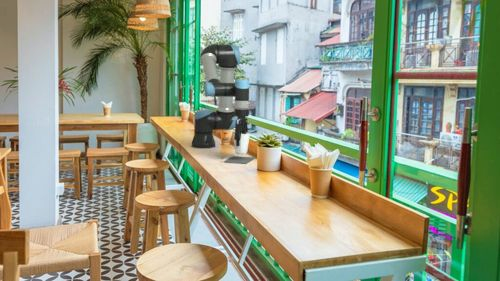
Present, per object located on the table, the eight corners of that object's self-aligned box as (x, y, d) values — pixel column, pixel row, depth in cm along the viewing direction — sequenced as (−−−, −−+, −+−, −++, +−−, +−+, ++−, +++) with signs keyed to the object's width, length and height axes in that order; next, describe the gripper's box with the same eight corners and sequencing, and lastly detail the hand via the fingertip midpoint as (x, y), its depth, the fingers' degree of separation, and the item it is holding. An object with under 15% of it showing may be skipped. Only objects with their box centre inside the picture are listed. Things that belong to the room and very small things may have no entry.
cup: (251, 152, 250) (251, 132, 248) (249, 155, 240) (249, 134, 238) (233, 151, 250) (233, 131, 249) (230, 154, 241) (230, 134, 239)
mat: (234, 156, 256) (234, 156, 256) (255, 158, 253) (255, 157, 253) (223, 162, 239) (223, 161, 239) (245, 164, 236) (245, 163, 236)
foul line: (231, 156, 258) (231, 155, 257) (234, 156, 257) (234, 155, 257) (220, 161, 240) (220, 160, 240) (223, 162, 240) (223, 160, 240)
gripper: (242, 110, 230) (241, 154, 233) (254, 107, 251) (253, 148, 254) (228, 109, 233) (227, 153, 235) (241, 107, 253) (240, 147, 256)
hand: (241, 150), depth 245 cm, fingers closed on cup, 9 cm apart
